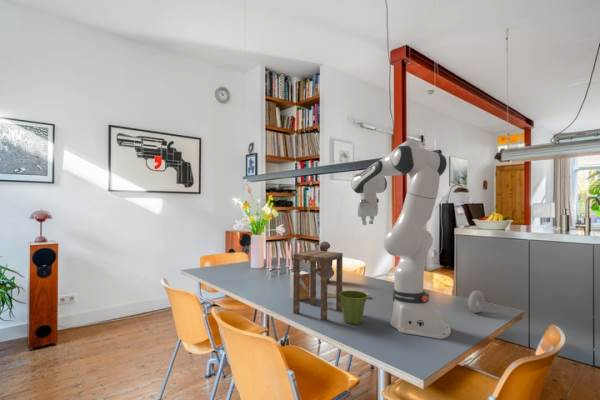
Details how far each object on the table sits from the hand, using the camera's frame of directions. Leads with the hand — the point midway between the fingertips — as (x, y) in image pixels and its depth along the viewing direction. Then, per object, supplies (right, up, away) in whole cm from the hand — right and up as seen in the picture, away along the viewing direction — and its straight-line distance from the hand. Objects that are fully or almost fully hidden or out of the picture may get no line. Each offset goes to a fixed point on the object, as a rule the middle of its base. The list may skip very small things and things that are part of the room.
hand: (367, 224), depth 177 cm
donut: (+42, -37, -32) cm, 65 cm away
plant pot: (-15, -37, -44) cm, 60 cm away
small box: (-37, -37, -13) cm, 54 cm away
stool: (-29, -37, -33) cm, 57 cm away
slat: (-14, -37, -10) cm, 41 cm away
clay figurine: (-22, -37, +21) cm, 48 cm away
